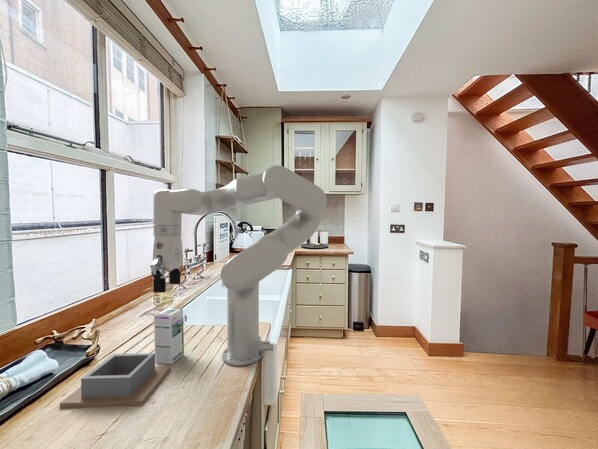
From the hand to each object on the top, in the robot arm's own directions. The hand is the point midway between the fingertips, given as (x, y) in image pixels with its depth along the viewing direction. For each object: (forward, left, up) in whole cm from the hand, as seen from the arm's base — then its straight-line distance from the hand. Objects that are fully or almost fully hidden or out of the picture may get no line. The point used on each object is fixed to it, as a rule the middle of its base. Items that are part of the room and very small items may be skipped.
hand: (167, 287), depth 78 cm
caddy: (+6, +13, -22) cm, 26 cm away
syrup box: (0, 0, -22) cm, 22 cm away
